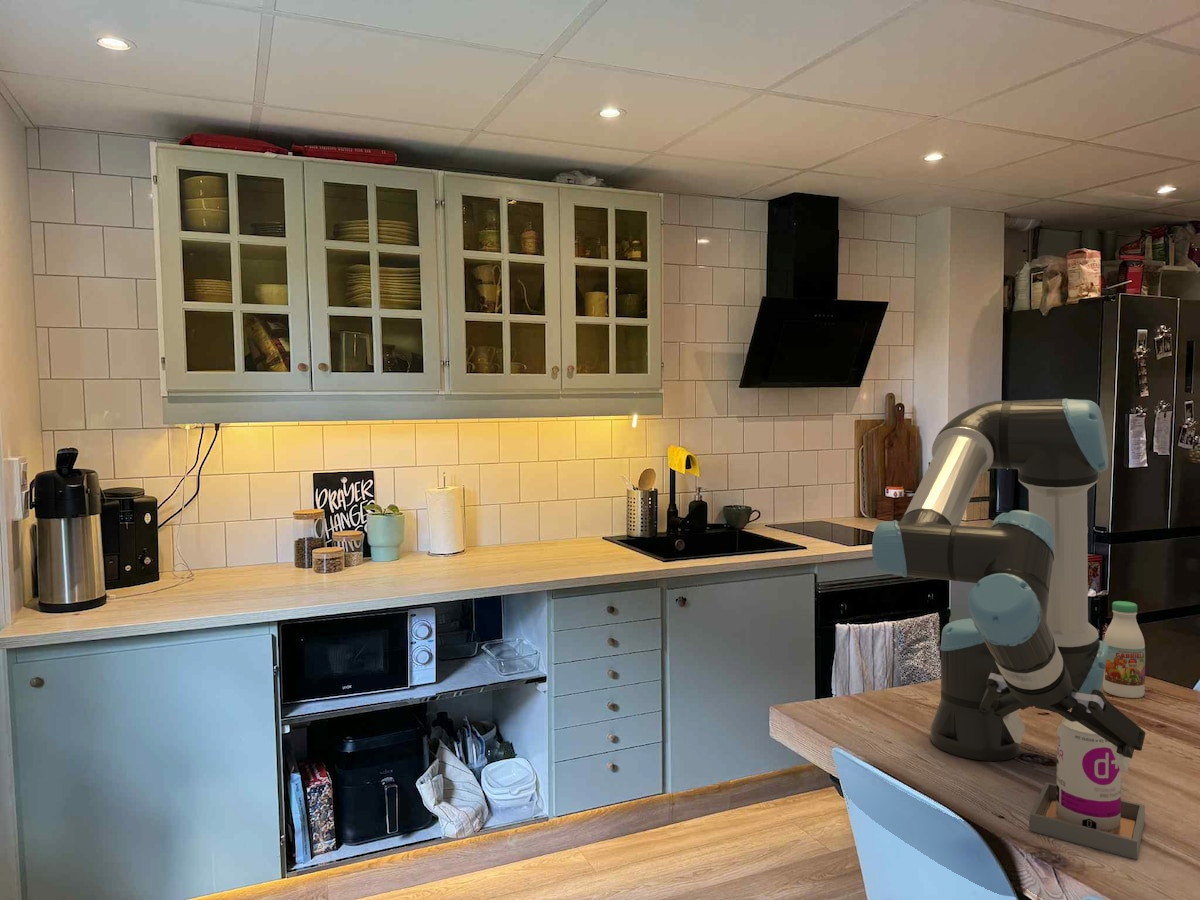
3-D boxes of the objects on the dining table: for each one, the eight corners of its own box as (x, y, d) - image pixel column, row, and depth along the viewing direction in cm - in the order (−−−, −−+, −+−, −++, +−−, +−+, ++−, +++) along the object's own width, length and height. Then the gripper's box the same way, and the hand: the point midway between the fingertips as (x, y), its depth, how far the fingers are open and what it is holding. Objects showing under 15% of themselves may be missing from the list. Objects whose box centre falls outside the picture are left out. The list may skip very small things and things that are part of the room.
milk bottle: (1094, 688, 182) (1095, 599, 181) (1126, 686, 183) (1127, 598, 182) (1120, 699, 174) (1121, 607, 173) (1153, 698, 175) (1154, 606, 174)
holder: (1136, 859, 112) (1137, 841, 111) (1029, 830, 120) (1030, 814, 119) (1144, 821, 122) (1144, 805, 122) (1045, 797, 130) (1045, 781, 130)
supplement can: (1133, 838, 117) (1134, 736, 116) (1074, 838, 117) (1075, 736, 116) (1099, 811, 125) (1101, 715, 124) (1045, 811, 125) (1046, 715, 124)
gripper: (927, 669, 112) (973, 746, 123) (1137, 717, 94) (1170, 802, 104) (945, 624, 115) (988, 703, 126) (1151, 662, 97) (1181, 750, 108)
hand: (1070, 748), depth 115 cm, fingers open, 13 cm apart
